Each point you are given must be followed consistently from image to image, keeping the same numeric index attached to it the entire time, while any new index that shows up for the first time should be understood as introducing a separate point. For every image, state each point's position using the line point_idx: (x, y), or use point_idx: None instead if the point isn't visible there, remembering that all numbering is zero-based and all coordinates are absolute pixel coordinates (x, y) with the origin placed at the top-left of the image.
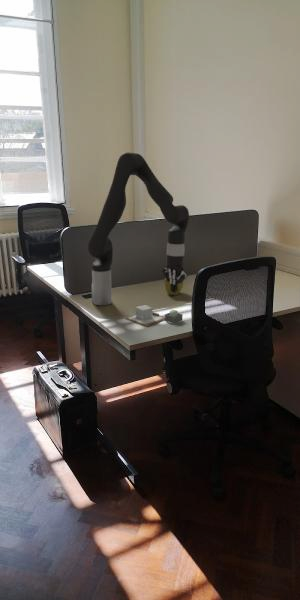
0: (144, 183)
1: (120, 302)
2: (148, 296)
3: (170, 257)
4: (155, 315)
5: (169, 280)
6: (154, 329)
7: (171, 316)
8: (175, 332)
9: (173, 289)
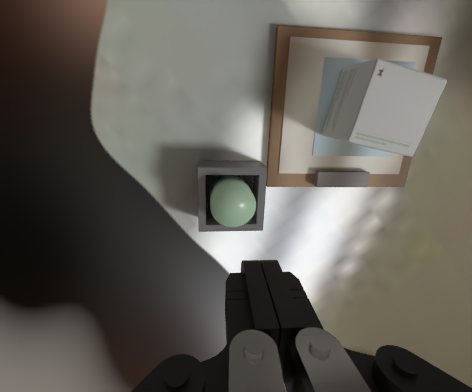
0: None
1: None
2: (465, 318)
3: None
4: (326, 171)
5: (374, 377)
6: (227, 25)
7: (221, 168)
8: (117, 70)
9: (247, 279)
